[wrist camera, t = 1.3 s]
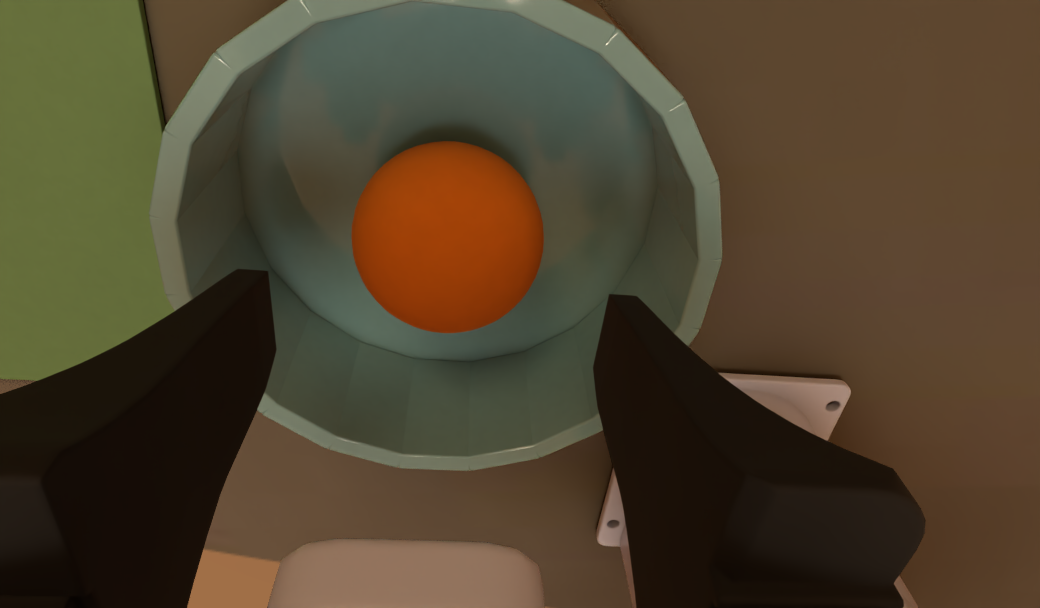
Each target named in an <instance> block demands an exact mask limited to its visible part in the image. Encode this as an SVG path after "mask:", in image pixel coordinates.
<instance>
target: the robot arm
mask: <svg viewBox="0 0 1040 608" xmlns="http://www.w3.org/2000/svg"><path fill="white" fill-rule="evenodd" d="M276 351H277V348H276V339H275V330H274V320H273V311H272V302H271V293H270V283H269V274H268V271H264V270H250V269H236V270H235V271H233V272H231V273H230V274H228V275H227V276H225V277H224V278H222V279H221V280H219V281H218V282H217V283H215V284H214V285H212V286H211V287H209V288H208V289H207V290H205V291H204V292H202V293H201V294H199V295H198V296H196V297H195V298H193V299H192V300H190V301H189V302H187V303H186V304H185V305H183V306H182V307H180V308H179V309H177V310H176V311H174V312H173V313H171V314H170V315H168V316H166V317H165V318H163V319H161V320H160V321H158V322H156V323H155V324H153V325H151V326H150V327H148V328H146V329H145V330H143V331H141V332H140V333H138V334H137V335H135V336H133V337H132V338H130V339H128V340H126V341H124V342H122V343H121V344H119V345H117V346H115V347H113V348H111V349H109V350H107V351H105V352H103V353H101V354H99V355H97V356H95V357H93V358H91V359H89V360H86V361H84V362H82V363H80V364H78V365H75V366H73V367H71V368H68V369H66V370H63V371H61V372H58V373H56V374H53V375H51V376H48V377H46V378H43V379H41V380H38V381H36V382H34V383H31V384H28V385H26V386H23V387H20V388H17V389H14V390H11V391H9V392H6V393H3V394H0V608H187V605H188V601H189V598H190V594H191V590H192V586H193V582H194V579H195V576H196V572H197V569H198V565H199V562H200V558H201V555H202V552H203V548H204V545H205V541H206V538H207V535H208V531H209V528H210V525H211V522H212V519H213V516H214V512H215V509H216V506H217V503H218V500H219V497H220V494H221V491H222V488H223V486H224V483H225V481H226V478H227V476H228V473H229V471H230V469H231V467H232V464H233V462H234V460H235V458H236V456H237V453H238V451H239V449H240V447H241V444H242V442H243V440H244V438H245V436H246V433H247V431H248V429H249V427H250V424H251V422H252V420H253V418H254V415H255V413H256V411H257V409H258V406H259V404H260V402H261V400H262V397H263V395H264V392H265V390H266V387H267V383H268V380H269V377H270V373H271V370H272V366H273V362H274V358H275V354H276ZM593 373H594V383H595V392H596V400H597V407H598V411H599V415H600V419H601V423H602V427H603V431H604V434H605V438H606V442H607V446H608V449H609V453H610V457H611V461H612V464H613V471H612V475H611V478H610V482H609V486H608V490H607V493H606V497H605V501H604V504H603V508H602V512H601V516H600V519H599V523H598V527H597V531H596V537H597V541H598V543H599V544H601V545H603V546H620V548H621V553H622V558H623V563H624V568H625V572H626V577H627V582H628V587H629V592H630V597H631V601H632V606H633V608H918V606H917V604H916V603H915V601H914V599H913V598H912V596H911V594H910V592H909V591H908V589H907V587H906V586H905V584H904V582H903V581H902V579H901V577H900V576H899V575H900V573H901V572H902V570H903V569H904V567H905V566H906V565H907V563H908V562H909V560H910V559H911V557H912V556H913V554H914V553H915V551H916V550H917V548H918V546H919V544H920V542H921V540H922V538H923V535H924V532H925V518H924V515H923V513H922V510H921V508H920V507H919V505H918V504H917V502H916V501H915V499H914V498H913V496H912V495H911V494H910V492H909V491H908V489H907V488H906V486H905V485H904V483H903V482H902V480H901V479H900V478H899V476H898V475H897V473H896V472H895V471H894V469H892V468H890V467H887V466H885V465H882V464H880V463H878V462H875V461H873V460H870V459H868V458H865V457H863V456H860V455H858V454H855V453H853V452H850V451H848V450H846V449H843V448H841V447H839V446H837V445H835V444H833V443H831V442H829V441H828V439H829V437H830V435H831V433H832V431H833V429H834V427H835V425H836V423H837V421H838V419H839V417H840V415H841V413H842V411H843V409H844V407H845V405H846V403H847V401H848V399H849V397H850V394H851V391H850V388H849V387H848V385H847V384H846V383H845V382H844V381H842V380H838V379H820V378H803V377H786V376H768V375H751V374H733V373H718V372H716V371H715V370H714V369H713V368H712V367H710V366H709V365H708V364H707V363H706V362H705V361H703V360H702V359H701V358H700V357H699V356H698V355H697V354H695V353H694V352H693V351H692V350H691V349H690V348H689V347H688V346H687V345H686V344H685V343H684V342H683V341H682V340H681V339H679V338H678V337H677V336H676V335H675V334H674V333H673V332H672V331H671V330H670V329H669V328H668V327H667V326H666V325H665V324H664V323H663V322H662V321H661V320H660V319H659V318H658V317H657V316H656V314H655V313H654V312H653V311H652V310H651V309H650V308H649V307H648V306H647V305H646V304H645V303H644V302H643V301H642V300H640V299H639V298H638V297H637V296H632V295H618V294H609V296H608V301H607V305H606V310H605V315H604V319H603V324H602V328H601V333H600V337H599V342H598V347H597V351H596V356H595V360H594V365H593ZM832 401H833V402H832ZM830 402H832V403H830ZM828 403H830V404H828ZM267 608H545V605H544V593H543V584H542V579H541V575H540V570H539V565H538V564H536V563H535V562H534V561H532V560H531V559H530V558H528V557H527V556H526V555H524V554H523V553H522V552H520V551H519V550H517V549H515V548H513V547H508V546H503V545H498V544H493V543H488V542H469V541H433V540H396V539H360V538H337V539H330V540H323V541H316V542H310V543H307V544H304V545H303V546H301V547H300V548H298V549H297V550H295V551H293V552H292V553H290V554H289V555H287V556H286V557H284V558H282V559H281V563H280V566H279V569H278V572H277V575H276V578H275V582H274V586H273V589H272V593H271V596H270V600H269V603H268V607H267Z"/></svg>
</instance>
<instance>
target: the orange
mask: <svg viewBox="0 0 1040 608" xmlns="http://www.w3.org/2000/svg"><path fill="white" fill-rule="evenodd" d="M351 238H352V248H353V256H354V260H355V264H356V267H357V269H358V272H359V274H360V276H361V279H362V281H363V283H364V284H365V286H366V288H367V290H368V291H369V292H370V293H371V295H372V296H373V297H374V299H375V300H376V301H377V302H378V303H379V304H380V305H381V306H382V307H383V308H384V309H385V310H386V311H388V312H389V313H390V314H391V315H393V316H394V317H396V318H398V319H399V320H401V321H403V322H405V323H407V324H409V325H411V326H413V327H416V328H419V329H422V330H426V331H431V332H437V333H460V332H466V331H471V330H475V329H478V328H481V327H484V326H486V325H488V324H491V323H493V322H495V321H496V320H498V319H500V318H501V317H503V316H504V315H505V314H507V313H508V312H509V311H510V310H512V309H513V308H514V307H515V306H516V305H517V304H518V303H519V302H520V301H521V300H522V298H523V297H524V296H525V294H526V293H527V292H528V290H529V288H530V287H531V285H532V283H533V281H534V279H535V278H536V275H537V272H538V270H539V267H540V263H541V258H542V254H543V246H544V232H543V222H542V217H541V213H540V210H539V207H538V204H537V202H536V199H535V196H534V195H533V193H532V191H531V189H530V187H529V186H528V185H527V183H526V182H525V181H524V179H523V178H522V177H521V175H520V174H519V173H518V172H517V171H516V170H515V169H514V168H513V167H512V166H511V165H510V164H509V163H507V162H506V161H505V160H504V159H502V158H501V157H499V156H497V155H496V154H494V153H492V152H490V151H488V150H486V149H483V148H481V147H479V146H475V145H472V144H468V143H463V142H456V141H439V142H430V143H426V144H422V145H418V146H415V147H412V148H410V149H407V150H405V151H403V152H401V153H399V154H398V155H396V156H394V157H393V158H392V159H390V160H389V161H388V162H386V163H385V164H384V165H383V166H382V167H381V168H380V169H379V170H378V171H377V172H376V173H375V174H374V175H373V176H372V178H371V179H370V180H369V182H368V183H367V185H366V187H365V189H364V190H363V192H362V194H361V196H360V198H359V200H358V203H357V206H356V208H355V213H354V218H353V223H352V235H351Z"/></svg>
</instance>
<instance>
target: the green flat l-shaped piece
mask: <svg viewBox="0 0 1040 608" xmlns="http://www.w3.org/2000/svg"><path fill="white" fill-rule="evenodd" d="M164 130H165V122H164V116H163V111H162V105H161V99H160V94H159V88H158V83H157V77H156V71H155V66H154V60H153V55H152V49H151V44H150V38H149V32H148V27H147V21H146V16H145V10H144V5H143V0H0V379H16V380H36V381H38V380H41V379H43V378H46V377H48V376H51V375H53V374H56V373H58V372H61V371H63V370H66V369H68V368H71V367H73V366H75V365H78V364H80V363H82V362H84V361H86V360H89V359H91V358H93V357H95V356H97V355H99V354H101V353H103V352H105V351H107V350H109V349H111V348H113V347H115V346H117V345H119V344H121V343H122V342H124V341H126V340H128V339H130V338H132V337H133V336H135V335H137V334H138V333H140V332H141V331H143V330H145V329H146V328H148V327H150V326H151V325H153V324H155V323H156V322H158V321H160V320H161V319H163V318H165V317H166V316H168V315H170V314H171V313H173V312H174V309H173V307H172V306H171V304H170V302H169V301H168V299H167V296H166V294H165V292H164V287H163V282H162V277H161V273H160V268H159V263H158V258H157V254H156V249H155V244H154V239H153V234H152V230H151V225H150V220H149V216H150V215H149V208H150V202H151V197H152V191H153V185H154V179H155V173H156V168H157V162H158V156H159V150H160V145H161V139H162V133H163V131H164Z"/></svg>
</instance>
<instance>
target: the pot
mask: <svg viewBox="0 0 1040 608" xmlns="http://www.w3.org/2000/svg"><path fill="white" fill-rule="evenodd" d="M439 141H456V142H463V143H468V144H472V145H475V146H479V147H481V148H483V149H486V150H488V151H490V152H492V153H494V154H496V155H497V156H499V157H501V158H502V159H504V160H505V161H506V162H507V163H509V164H510V165H511V166H512V167H513V168H514V169H515V170H516V171H517V172H518V173H519V174H520V175H521V177H522V178H523V179H524V181H525V182H526V183H527V185H528V186H529V187H530V189H531V191H532V193H533V195H534V196H535V199H536V202H537V204H538V207H539V210H540V213H541V217H542V222H543V232H544V246H543V254H542V258H541V263H540V267H539V270H538V272H537V275H536V278H535V279H534V281H533V283H532V285H531V287H530V288H529V290H528V292H527V293H526V294H525V296H524V297H523V298H522V300H521V301H520V302H519V303H518V304H517V305H516V306H515V307H514V308H513V309H512V310H510V311H509V312H508V313H507V314H505V315H504V316H503V317H501V318H500V319H498V320H496V321H495V322H493V323H491V324H488V325H486V326H484V327H481V328H478V329H475V330H471V331H466V332H460V333H437V332H431V331H426V330H422V329H419V328H416V327H413V326H411V325H409V324H407V323H405V322H403V321H401V320H399V319H398V318H396V317H394V316H393V315H391V314H390V313H389V312H388V311H386V310H385V309H384V308H383V307H382V306H381V305H380V304H379V303H378V302H377V301H376V300H375V299H374V297H373V296H372V295H371V293H370V292H369V291H368V290H367V288H366V286H365V284H364V283H363V281H362V279H361V276H360V274H359V272H358V269H357V267H356V264H355V260H354V256H353V248H352V238H351V235H352V223H353V218H354V213H355V208H356V206H357V203H358V200H359V198H360V196H361V194H362V192H363V190H364V189H365V187H366V185H367V183H368V182H369V180H370V179H371V178H372V176H373V175H374V174H375V173H376V172H377V171H378V170H379V169H380V168H381V167H382V166H383V165H384V164H385V163H386V162H388V161H389V160H390V159H392V158H393V157H394V156H396V155H398V154H399V153H401V152H403V151H405V150H407V149H410V148H412V147H415V146H418V145H422V144H426V143H430V142H439ZM149 215H150V216H149V220H150V225H151V230H152V234H153V239H154V244H155V249H156V254H157V258H158V263H159V268H160V273H161V277H162V282H163V287H164V292H165V294H166V296H167V299H168V301H169V302H170V304H171V306H172V307H173V309H174V311H176V310H177V309H179V308H180V307H182V306H183V305H185V304H186V303H187V302H189V301H190V300H192V299H193V298H195V297H196V296H198V295H199V294H201V293H202V292H204V291H205V290H207V289H208V288H209V287H211V286H212V285H214V284H215V283H217V282H218V281H219V280H221V279H222V278H224V277H225V276H227V275H228V274H230V273H231V272H233V271H235V270H236V269H250V270H264V271H268V274H269V283H270V293H271V302H272V311H273V320H274V330H275V339H276V348H277V351H276V354H275V358H274V362H273V366H272V370H271V373H270V377H269V380H268V383H267V387H266V390H265V392H264V395H263V397H262V400H261V402H260V404H259V406H258V409H257V410H258V411H259V412H260V413H262V414H263V415H264V416H265V417H267V418H269V419H271V420H273V421H275V422H277V423H279V424H280V425H282V426H284V427H286V428H288V429H290V430H292V431H294V432H295V433H297V434H299V435H301V436H303V437H305V438H307V439H308V440H310V441H312V442H314V443H316V444H318V445H320V446H322V447H323V448H325V449H328V448H329V450H332V451H335V452H339V453H343V454H347V455H350V456H354V457H358V458H362V459H365V460H369V461H373V462H377V463H380V464H384V465H388V466H392V467H396V468H397V467H398V466H399V468H402V469H427V470H452V471H469V470H471V471H474V470H479V469H485V468H490V467H496V466H501V465H507V464H512V463H518V462H523V461H529V460H534V459H538V458H539V457H540V458H541V457H544V456H546V455H548V454H551V453H553V452H555V451H558V450H560V449H562V448H564V447H567V446H569V445H571V444H574V443H576V442H578V441H580V440H583V439H585V438H587V437H590V436H592V435H594V434H596V433H599V432H601V431H602V430H603V427H602V423H601V419H600V415H599V411H598V407H597V400H596V392H595V383H594V373H593V365H594V360H595V356H596V351H597V347H598V342H599V337H600V333H601V328H602V324H603V319H604V315H605V310H606V305H607V301H608V296H609V294H618V295H632V296H637V297H638V298H639V299H640V300H642V301H643V302H644V303H645V304H646V305H647V306H648V307H649V308H650V309H651V310H652V311H653V312H654V313H655V314H656V316H657V317H658V318H659V319H660V320H661V321H662V322H663V323H664V324H665V325H666V326H667V327H668V328H669V329H670V330H671V331H672V332H673V333H674V334H675V335H676V336H677V337H678V338H679V339H681V340H682V341H683V342H684V343H685V344H686V345H687V346H689V345H690V343H691V342H692V341H693V339H694V338H695V336H696V335H697V334H698V332H699V329H700V328H701V326H702V322H703V319H704V316H705V313H706V310H707V307H708V304H709V300H710V297H711V294H712V291H713V288H714V285H715V281H716V278H717V275H718V272H719V269H720V266H721V263H722V259H721V258H722V257H723V250H722V226H721V201H720V181H719V180H718V174H717V172H716V169H715V167H714V164H713V162H712V160H711V157H710V155H709V153H708V150H707V148H706V146H705V143H704V141H703V139H702V136H701V134H700V132H699V129H698V127H697V125H696V122H695V120H694V118H693V115H692V113H691V111H690V108H689V106H688V104H687V101H686V100H685V99H684V98H683V95H682V94H681V93H680V92H679V91H678V90H677V88H676V87H675V86H674V85H673V84H672V83H671V82H670V80H669V79H668V78H667V77H666V76H665V75H664V74H663V73H662V71H661V70H660V69H659V68H658V67H657V66H656V65H655V63H654V62H653V61H652V60H651V59H650V58H649V57H648V56H647V54H646V53H645V52H644V51H643V50H642V49H641V48H640V47H639V46H638V44H637V43H636V42H635V41H634V40H633V39H632V38H631V37H630V36H629V35H628V34H627V33H626V32H625V31H624V30H623V29H622V28H621V27H620V26H619V25H618V23H617V22H616V21H615V20H614V19H613V18H612V17H611V16H610V15H609V14H608V13H607V12H606V11H605V10H604V9H603V8H602V7H601V6H600V5H599V4H598V3H597V1H596V0H286V1H284V2H283V3H281V4H280V5H279V6H277V7H276V8H274V9H273V10H271V11H270V12H269V13H267V14H266V15H264V16H263V17H261V18H260V19H258V20H257V21H256V22H254V23H253V24H251V25H250V26H248V27H247V28H246V29H244V30H243V31H241V32H240V33H238V34H237V35H236V36H234V37H233V38H231V39H230V40H228V41H227V42H226V43H224V44H223V45H221V46H220V47H218V48H217V50H216V51H215V52H214V53H212V55H211V56H210V58H209V59H208V61H207V62H206V64H205V66H204V67H203V69H202V70H201V72H200V73H199V75H198V76H197V78H196V80H195V81H194V83H193V84H192V86H191V87H190V89H189V90H188V92H187V93H186V95H185V97H184V98H183V100H182V101H181V103H180V104H179V106H178V107H177V109H176V111H175V112H174V114H173V115H172V117H171V118H170V120H169V121H168V123H167V125H166V126H165V130H164V131H163V133H162V139H161V145H160V150H159V156H158V162H157V168H156V173H155V179H154V185H153V191H152V197H151V202H150V208H149Z"/></svg>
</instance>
